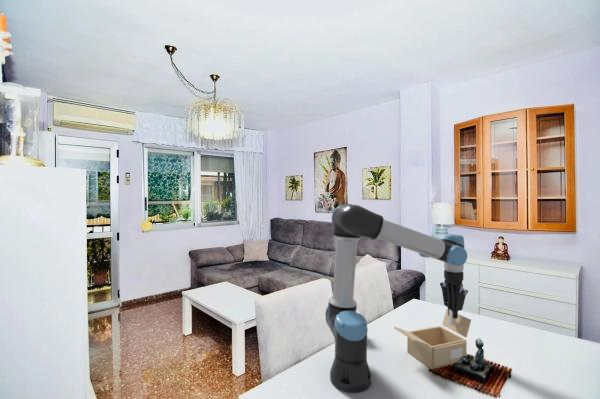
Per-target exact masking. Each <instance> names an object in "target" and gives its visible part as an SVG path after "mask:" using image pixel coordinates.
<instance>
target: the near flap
mask: <svg viewBox="0 0 600 399" xmlns="http://www.w3.org/2000/svg"><path fill="white" fill-rule="evenodd" d="M393 329H394V330H396V331H398V332H399V333H401V334H402V335H403V336H405V337H407V338H410V339H411V340H413V341H414V342H417V343H420V344H423V345H426V346H428V344H427V343H425V342H424V341H422V340H420V339H419V338H417V337H416V336H414V335H413V334H411V333H410V332H408V331H409V330H406V329H402V328H399V327H397V326H393Z"/></svg>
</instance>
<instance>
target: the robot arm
mask: <svg viewBox="0 0 600 399" xmlns="http://www.w3.org/2000/svg"><path fill="white" fill-rule="evenodd" d="M331 223H332V225H333V228H332V229H333V231H332V236H333V238H334V239H335V242H336V243H335V252H334V253H335V254H334V255H335V256H334V270H333V284H332V285H333V286H332V296H331V297H330V298H329V299H328V305H327V307H326V309H325V322H326V325H327V326H328V328H329V329H330V332H331V334H332V336H333V337H334V345H335V346H334V358H333V360H332V361H333V362H332V364H331V365H332V366H331V368H330V370H329V380H330V382H331V384H332V385H333V386H334V387H336V388H337V389H339V390H341V391H343V392H347V393H361V392H364V391H366V390H368V389H369V388H370V387H371V386H372V373H371V370H370V366H369V363H368V322H367V320H366V317H365V316H364V315H362V314H361V312H360V313H357V312H356V309H357V310H358V308H357V306H358V305H357V303H358V302H356V300H355V299H354V298H355V297H354V292H355V279H356V278H355V277H356V263H357V251H358V250H357V248H358V242H359V241H360V239H362V238H367V239H369V240H373V241H375V240H377V239H378V240H380V241H383V242H387V243H389V244H391V245H395V246H398V247H400V248H404V249H407V250H409V251H413V252H415V253H418V255H419V256H420V257H422V258H431V259H435V260H438V261H440V262H443V264H444V265H443V269H444V270H443V278H444V281H442V282H439V285H440V288H441V292H442V294H441V295H442V299H443V304H444V306H445V307H447V308H446V309H448V316H449V325H451V326H453V325H456V321H457V318H458V314H459V311H463V308H464V304H465V299H466V297H467V295H468V293H469V291H468V289H465V288H464V285H463V281H464V275H465V274H464V273H465V272H464V267H465V266H464V264H465V263H466V262H467V259H468V252H467V250H466V249H465V239H464V238H465V237H464V236H463V235H462V234H454V233H446V234H444V238H442V239H440V238H436V237H434V236H432V235H431V236H430V235H428V234H425V233H422V232H420V231H417V230H414V229H413V228H412V229H411V228H409V227H407V226H403V225H400V224H397V223H395V222H392V221H390V220H386V219H385V218H384V216H383V215H381V214H379V213H378V214H377V213H376V212H373V211H371V210H369V209H367V208H365V207H363V206H361V205H359V204H352V203H351V204H350V203H344V204H340V205H339V206H337V207H336V208H334V210H333V212H332V214H331Z"/></svg>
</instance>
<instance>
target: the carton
mask: <svg viewBox="0 0 600 399" xmlns="http://www.w3.org/2000/svg"><path fill="white" fill-rule="evenodd" d="M407 331H408V332H410V333H411V334H413V335H414V336H416V337H417V338H419V339H420V340H422V341H424V342H425V343H427V344H428V346H426V345H423V344H420V343H417V342H414V341H413V340H411V339H410V338H408V337H407V341H406V343H407V348H406V350H407V352H406V353H408V354H409V355H410V356H412V357H413V358H414V359H415V360H417V361H418V362H420V363H421V364H422V365H423V366H425V367H426V368H428V369H429V370H430V369H434V370H436V369H435V368H438V369H440V368H439V367H442V368H444V367H443V366H447V367H449V366H448V365H451V366H454V365H453V364H454V363H456V362H457V361H458V360H459V359H460V358H461V357H462V356H466V357H467V345H468V344H467V339H465V338H463V337H461V336H459V334H455V332H454V333H453V331H450V330H449V329H446V327H445V328H444V326H443V327H442V326H441V325H439V326H437V325H436V326H432V327H426V328H420V329H415V330H410V331H409V330H407Z"/></svg>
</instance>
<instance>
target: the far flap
mask: <svg viewBox="0 0 600 399" xmlns="http://www.w3.org/2000/svg"><path fill="white" fill-rule="evenodd" d="M471 322H472V319H470V318H468V317H466V316H464V315H462V314H460V313H458V318H457V321H456V325H453V326H451V325H449V316H448V308H446V310H445V314H444V317H443V321H442V326H443V327H445V328H447V329H448V330H451V331H452V332H454V333H457V335H460V336H463V337H464V338H467V336H468V333H469V330H470V326H471Z"/></svg>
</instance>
